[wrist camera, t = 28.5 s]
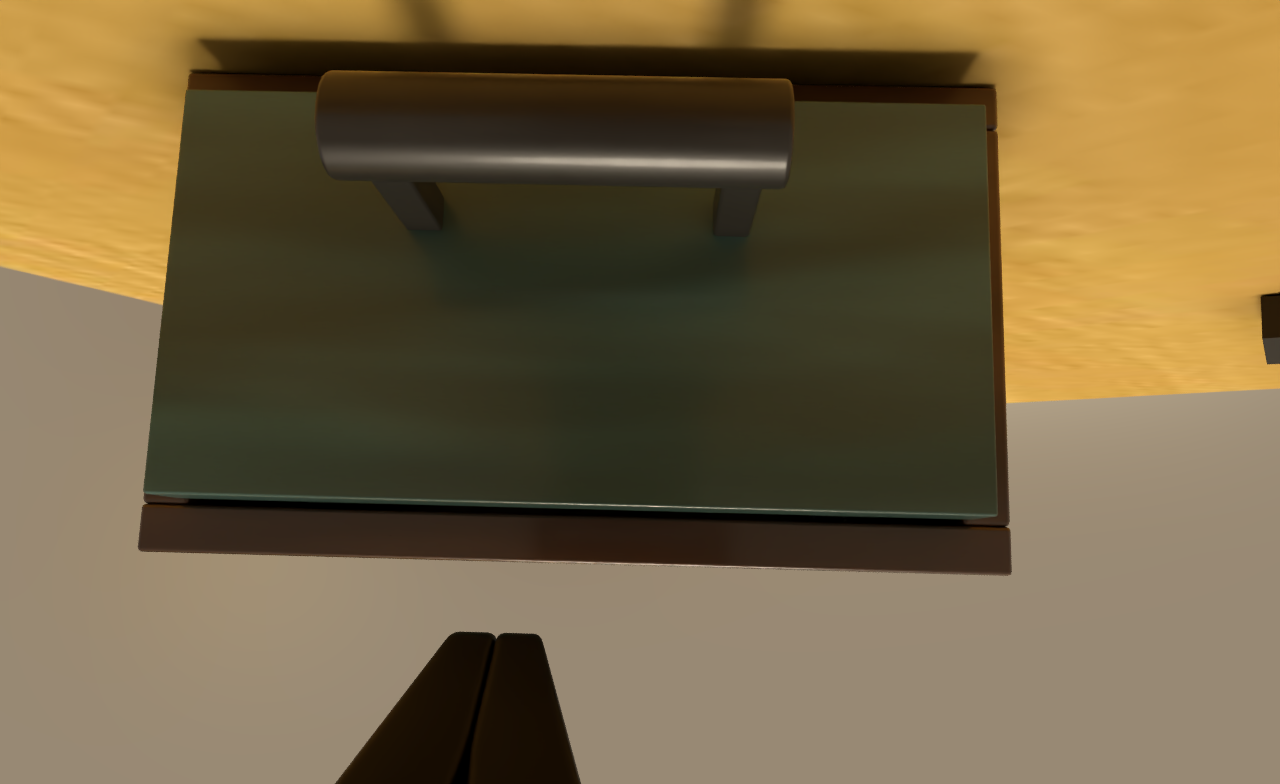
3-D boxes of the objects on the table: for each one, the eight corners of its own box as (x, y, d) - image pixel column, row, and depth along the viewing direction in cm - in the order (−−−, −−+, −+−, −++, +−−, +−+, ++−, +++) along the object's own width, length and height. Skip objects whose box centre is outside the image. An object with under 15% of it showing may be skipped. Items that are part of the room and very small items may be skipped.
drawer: (40, -57, 13) (-30, 470, 12) (1089, -40, 13) (1116, 500, 12) (361, 266, 28) (342, 521, 27) (861, 277, 27) (863, 535, 26)
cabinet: (186, 71, 19) (135, 550, 17) (998, 86, 18) (1013, 576, 17) (365, 258, 30) (343, 556, 29) (866, 269, 30) (868, 570, 28)
